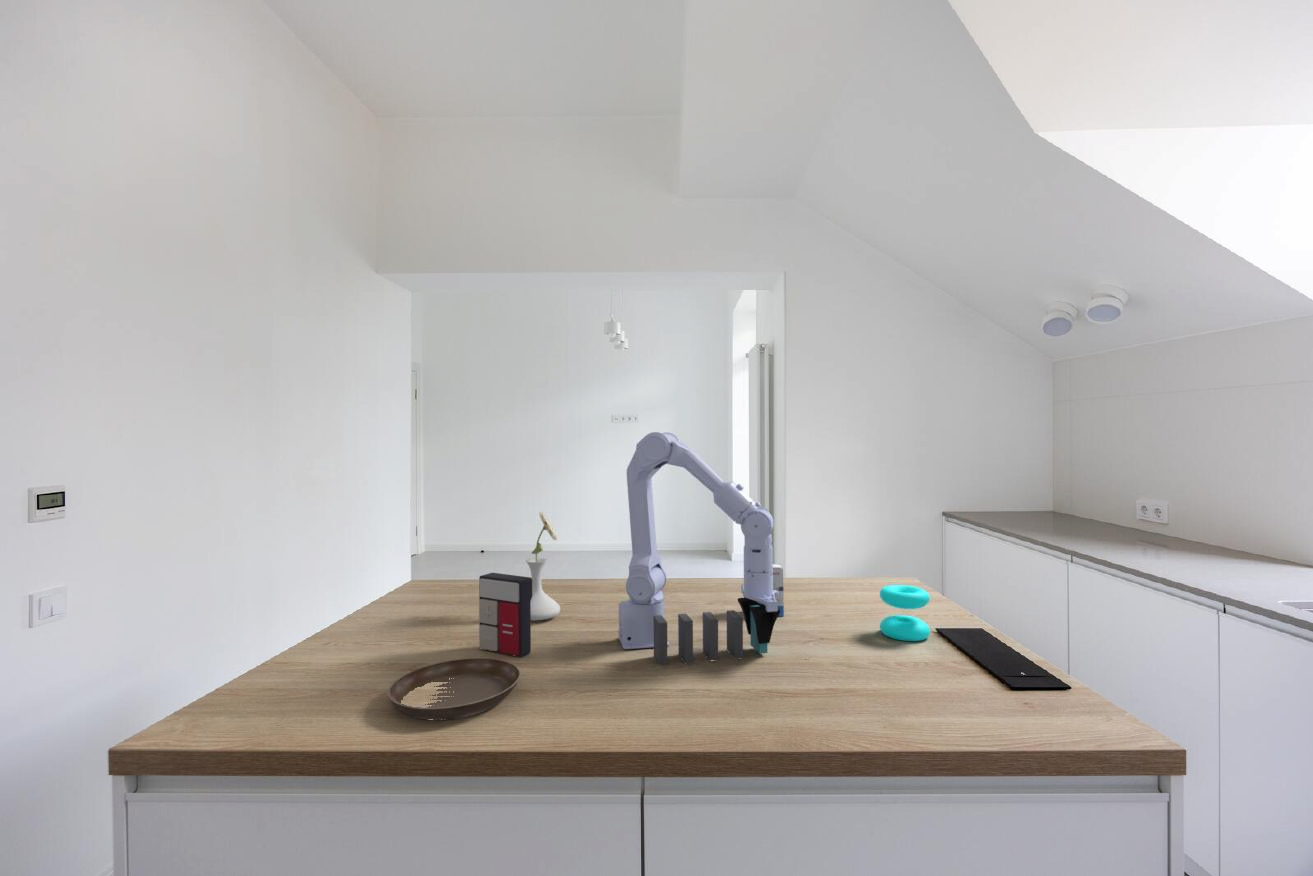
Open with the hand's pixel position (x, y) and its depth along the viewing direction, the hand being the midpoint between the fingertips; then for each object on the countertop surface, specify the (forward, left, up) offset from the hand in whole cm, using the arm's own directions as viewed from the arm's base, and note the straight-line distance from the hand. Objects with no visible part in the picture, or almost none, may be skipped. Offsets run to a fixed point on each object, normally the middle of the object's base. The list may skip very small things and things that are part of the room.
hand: (758, 638), depth 121 cm
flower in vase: (-42, +35, -3) cm, 55 cm away
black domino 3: (-5, 0, -3) cm, 6 cm away
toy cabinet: (-49, +12, -3) cm, 51 cm away
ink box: (+12, +25, -3) cm, 28 cm away
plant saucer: (-56, -9, -3) cm, 57 cm away
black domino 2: (-15, 0, -3) cm, 15 cm away
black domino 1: (-20, 0, -3) cm, 20 cm away
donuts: (+35, +3, -3) cm, 35 cm away
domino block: (-10, 0, -3) cm, 10 cm away
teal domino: (0, 0, -2) cm, 2 cm away
